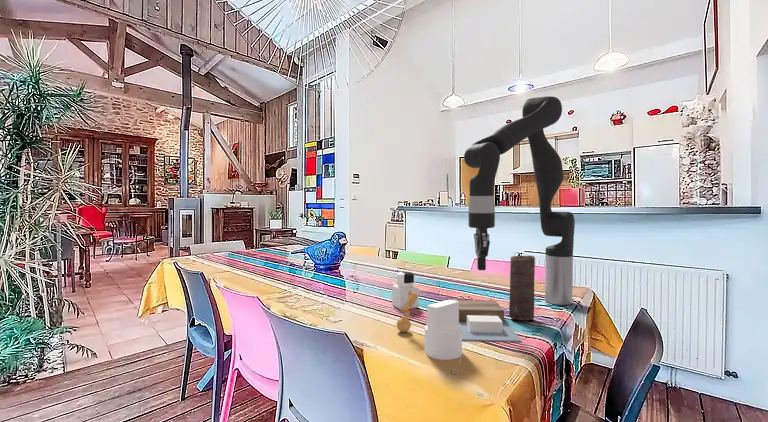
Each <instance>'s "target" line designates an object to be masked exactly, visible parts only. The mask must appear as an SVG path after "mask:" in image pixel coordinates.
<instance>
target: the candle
mask: <svg viewBox="0 0 768 422" xmlns="http://www.w3.org/2000/svg"><path fill="white" fill-rule="evenodd" d="M535 259H536V257H535V256H534V255H518V256H517V255H513V256H510V269H509V270H510V271H509V273H510V274H509V301H508V303H509V305H508V306H509V307H508V315H509V317H510V318H511V319H513V320H514V321H531V320H534V319H535V267H536V263H535V262H536V260H535Z"/></svg>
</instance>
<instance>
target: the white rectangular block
mask: <svg viewBox="0 0 768 422" xmlns="http://www.w3.org/2000/svg"><path fill="white" fill-rule="evenodd" d="M467 327H468V330H469V332H488V333H503V322H502V321H501V319H500V318H499V317H498V316H479V315H467Z"/></svg>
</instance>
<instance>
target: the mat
mask: <svg viewBox="0 0 768 422" xmlns="http://www.w3.org/2000/svg"><path fill="white" fill-rule="evenodd" d="M459 326H460V327H461V328H462V342H463V341H465V342H499V343H500V342H503V343H504V342H505V343H506V342H507V343H522V339H521V338H520V337H519V335H518V334H517V333H516V332H515V330H514V329H513V328H512V326H511V325H510V324H509V323H507V322H504V323H503V333H488V332H469V330H468V327H467V322H459Z"/></svg>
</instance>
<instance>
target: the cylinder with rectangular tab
mask: <svg viewBox="0 0 768 422" xmlns="http://www.w3.org/2000/svg"><path fill="white" fill-rule="evenodd" d="M455 300H456V299H446V300H441V301H438V302H435V303H431V304H427V309H426V312H427V317H426V318H427V321H426V325H425V326H424V353H425V355H427V356H428V357H430V358H432V359H435V360H441V361H442V360H444V361H445V360H447V361H448V360H449V361H450V360H455V359H458V358H461V357H462V355H463V341H462V328H461V327H460V326H459V301H455Z"/></svg>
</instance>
